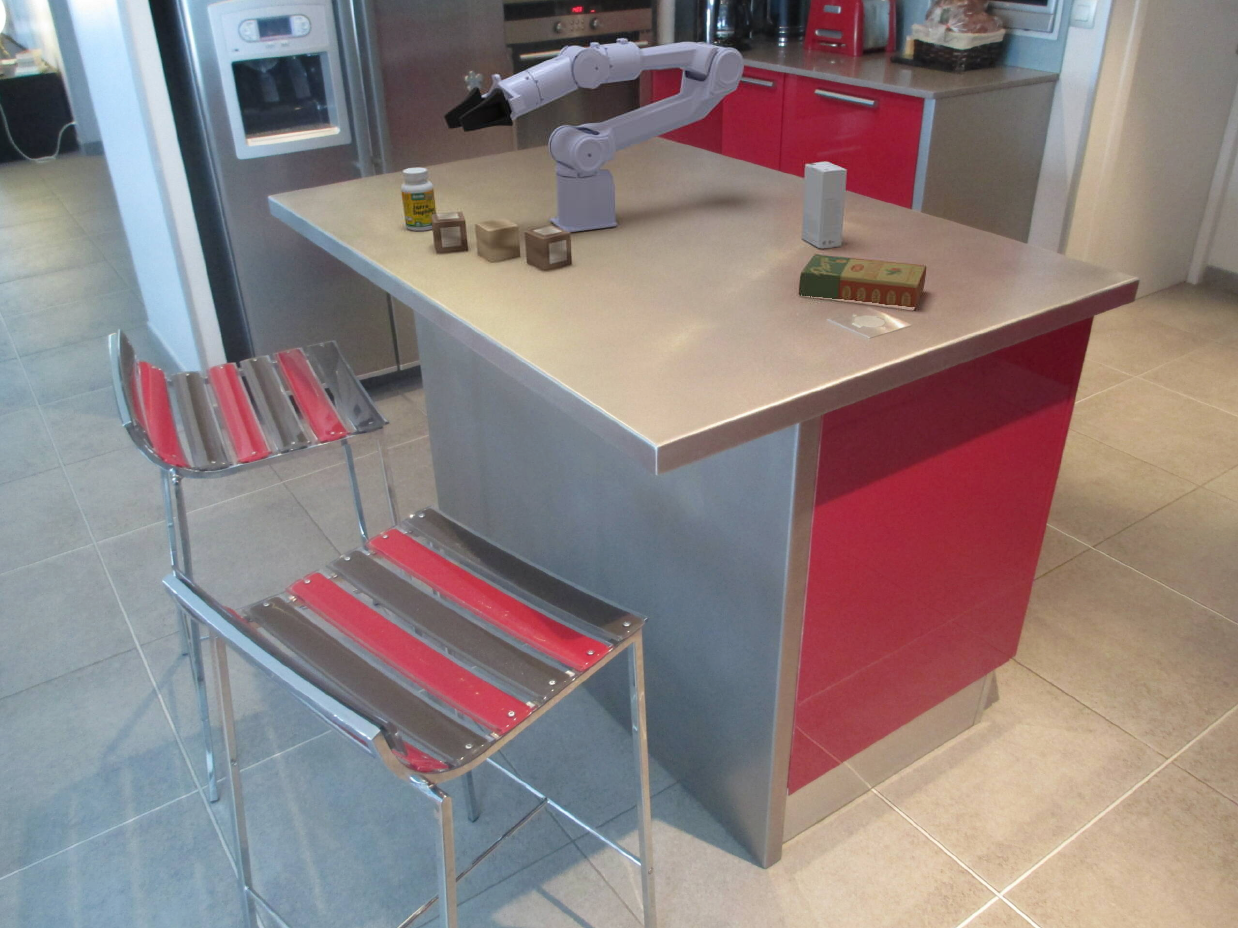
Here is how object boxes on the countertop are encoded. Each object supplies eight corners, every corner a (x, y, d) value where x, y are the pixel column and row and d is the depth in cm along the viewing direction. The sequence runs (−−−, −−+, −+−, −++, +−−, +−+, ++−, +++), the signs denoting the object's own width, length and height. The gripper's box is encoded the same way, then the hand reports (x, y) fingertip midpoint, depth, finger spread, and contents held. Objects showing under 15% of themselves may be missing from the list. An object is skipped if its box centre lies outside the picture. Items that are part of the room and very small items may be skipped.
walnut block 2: (553, 256, 154) (552, 224, 151) (572, 265, 150) (571, 232, 148) (526, 263, 151) (524, 230, 149) (545, 272, 148) (543, 238, 145)
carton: (914, 314, 132) (918, 283, 130) (796, 299, 138) (799, 269, 135) (923, 293, 139) (927, 263, 136) (810, 279, 144) (813, 251, 142)
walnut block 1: (465, 242, 161) (462, 210, 158) (468, 251, 157) (465, 219, 154) (434, 244, 160) (430, 213, 157) (436, 254, 156) (433, 222, 153)
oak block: (506, 249, 158) (504, 218, 155) (520, 257, 154) (518, 226, 151) (477, 254, 155) (474, 223, 153) (491, 263, 152) (488, 231, 149)
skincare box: (842, 246, 156) (850, 169, 150) (817, 250, 155) (824, 172, 149) (822, 235, 161) (829, 160, 155) (798, 239, 160) (804, 163, 154)
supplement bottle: (429, 220, 171) (423, 164, 166) (442, 228, 167) (436, 171, 163) (400, 226, 169) (393, 169, 164) (413, 233, 165) (406, 176, 160)
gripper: (505, 63, 157) (430, 96, 154) (539, 63, 145) (458, 99, 142) (521, 106, 161) (448, 140, 158) (556, 110, 149) (477, 146, 146)
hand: (454, 123), depth 150 cm, fingers open, 7 cm apart
